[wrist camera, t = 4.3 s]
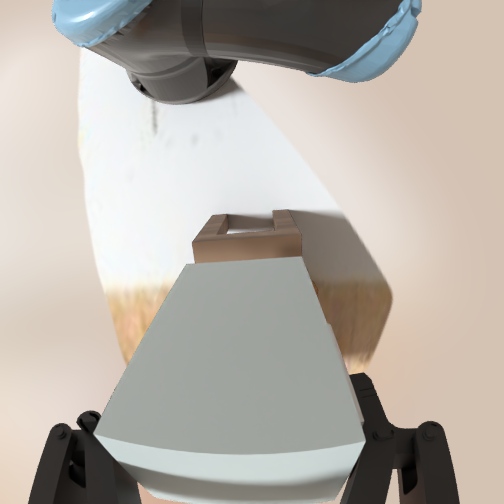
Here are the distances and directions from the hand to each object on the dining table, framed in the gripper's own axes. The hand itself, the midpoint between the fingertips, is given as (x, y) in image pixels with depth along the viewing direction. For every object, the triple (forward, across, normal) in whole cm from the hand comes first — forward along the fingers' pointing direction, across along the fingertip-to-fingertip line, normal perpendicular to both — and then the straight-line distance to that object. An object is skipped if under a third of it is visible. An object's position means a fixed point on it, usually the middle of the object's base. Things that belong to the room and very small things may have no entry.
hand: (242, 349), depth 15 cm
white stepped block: (+6, 0, -9) cm, 10 cm away
